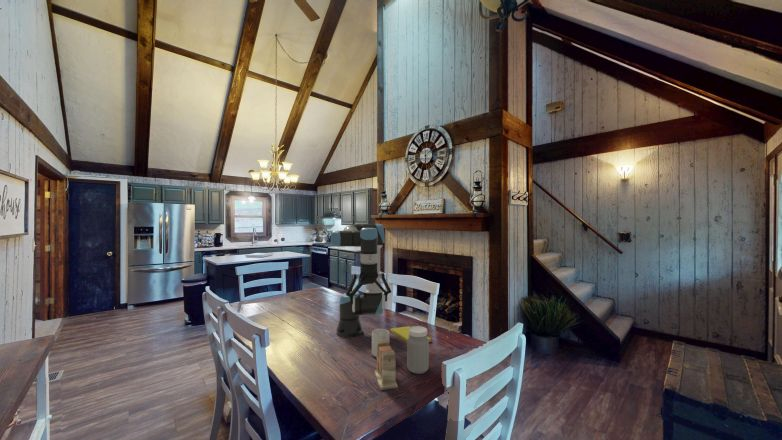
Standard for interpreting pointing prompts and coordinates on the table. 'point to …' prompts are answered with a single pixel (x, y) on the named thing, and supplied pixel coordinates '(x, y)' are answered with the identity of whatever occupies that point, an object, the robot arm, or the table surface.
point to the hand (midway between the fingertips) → (368, 310)
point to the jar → (417, 350)
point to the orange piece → (381, 349)
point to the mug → (378, 338)
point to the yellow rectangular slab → (403, 333)
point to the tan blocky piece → (386, 367)
